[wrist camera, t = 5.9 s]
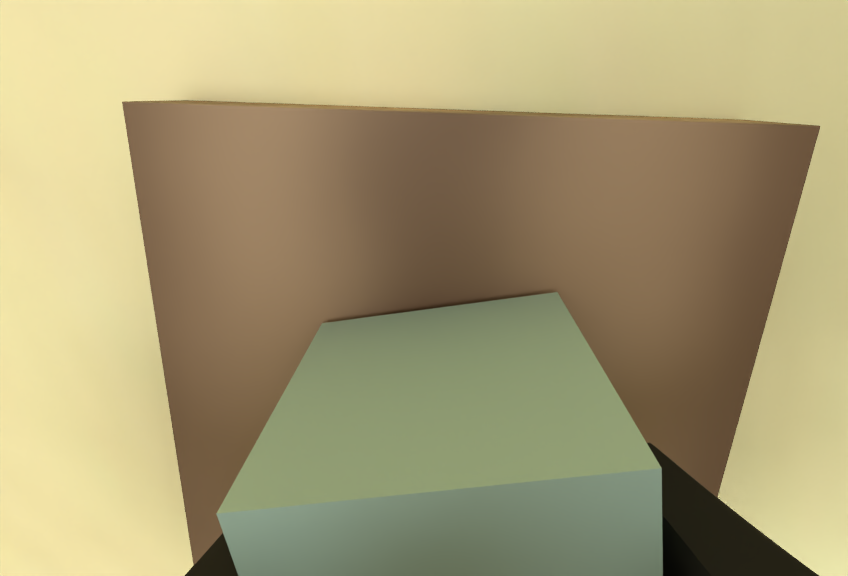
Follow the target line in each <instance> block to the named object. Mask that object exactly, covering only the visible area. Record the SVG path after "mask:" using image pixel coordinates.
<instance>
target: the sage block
mask: <svg viewBox="0 0 848 576" xmlns="http://www.w3.org/2000/svg"><path fill="white" fill-rule="evenodd" d="M216 514H217V517H218V520H219V523H220V525H221V528H222V531H223V534H224V537H225V540H226V542H227V545H228V548H229V551H230V554H231V556H232V559H233V562H234V565H235V568H236V571H237V573H238V576H663V541H662V468H661V466H660V465H659V463H658V461H657V460H656V458H655V456H654V454H653V453H652V451H651V449H650V448H649V446H648V444H647V443H646V441H645V439H644V438H643V436H642V434H641V433H640V431H639V429H638V427H637V426H636V424H635V422H634V421H633V419H632V417H631V416H630V414H629V412H628V411H627V409H626V407H625V405H624V404H623V402H622V400H621V399H620V397H619V395H618V394H617V392H616V390H615V389H614V387H613V385H612V384H611V382H610V380H609V378H608V377H607V375H606V373H605V372H604V370H603V368H602V367H601V365H600V363H599V362H598V360H597V358H596V356H595V355H594V353H593V351H592V350H591V348H590V346H589V345H588V343H587V341H586V340H585V338H584V336H583V335H582V333H581V331H580V329H579V328H578V326H577V324H576V323H575V321H574V319H573V318H572V316H571V314H570V313H569V311H568V309H567V308H566V306H565V304H564V302H563V301H562V299H561V297H560V296H559V294H558V292H553V293H546V294H538V295H531V296H523V297H516V298H508V299H501V300H493V301H486V302H478V303H471V304H463V305H455V306H448V307H440V308H433V309H425V310H418V311H410V312H403V313H395V314H388V315H380V316H373V317H365V318H357V319H350V320H342V321H335V322H327V323H322V324H321V326H320V328H319V330H318V331H317V333H316V335H315V337H314V339H313V340H312V342H311V344H310V346H309V348H308V349H307V351H306V353H305V355H304V357H303V358H302V360H301V362H300V364H299V366H298V367H297V369H296V371H295V373H294V375H293V376H292V378H291V380H290V382H289V384H288V385H287V387H286V389H285V391H284V393H283V394H282V396H281V398H280V400H279V402H278V403H277V405H276V407H275V409H274V411H273V412H272V414H271V416H270V418H269V420H268V422H267V423H266V425H265V427H264V429H263V431H262V432H261V434H260V436H259V438H258V440H257V441H256V443H255V445H254V447H253V449H252V450H251V452H250V454H249V456H248V458H247V459H246V461H245V463H244V465H243V467H242V468H241V470H240V472H239V474H238V476H237V477H236V479H235V481H234V483H233V485H232V486H231V488H230V490H229V492H228V494H227V495H226V497H225V499H224V501H223V503H222V504H221V506H220V508H219V510H218V512H217V513H216Z"/></svg>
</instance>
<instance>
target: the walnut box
mask: <svg viewBox="0 0 848 576" xmlns="http://www.w3.org/2000/svg"><path fill="white" fill-rule="evenodd" d="M122 103H123V110H124V116H125V123H126V129H127V136H128V142H129V149H130V155H131V162H132V168H133V175H134V181H135V188H136V194H137V201H138V207H139V214H140V220H141V226H142V233H143V239H144V246H145V252H146V259H147V265H148V272H149V278H150V285H151V291H152V298H153V304H154V311H155V317H156V324H157V330H158V337H159V343H160V350H161V356H162V363H163V369H164V376H165V382H166V389H167V395H168V401H169V408H170V414H171V421H172V427H173V434H174V440H175V447H176V453H177V460H178V466H179V473H180V479H181V486H182V492H183V499H184V505H185V512H186V518H187V525H188V531H189V538H190V544H191V551H192V557H193V563H194V565H195V564H196V563H197V561H198V560H199V559H200V558H201V557H202V556H203V555H204V554H205V552H206V551H207V550H208V549H209V548H210V547H211V546H212V545H213V543H214V542H215V541H216V540H217V539H218V538H219V537H220V535H221V534H222V533H223V531H222V528H221V525H220V523H219V520H218V517H217V514H216V513H217V512H218V510H219V508H220V506H221V504H222V503H223V501H224V499H225V497H226V495H227V494H228V492H229V490H230V488H231V486H232V485H233V483H234V481H235V479H236V477H237V476H238V474H239V472H240V470H241V468H242V467H243V465H244V463H245V461H246V459H247V458H248V456H249V454H250V452H251V450H252V449H253V447H254V445H255V443H256V441H257V440H258V438H259V436H260V434H261V432H262V431H263V429H264V427H265V425H266V423H267V422H268V420H269V418H270V416H271V414H272V412H273V411H274V409H275V407H276V405H277V403H278V402H279V400H280V398H281V396H282V394H283V393H284V391H285V389H286V387H287V385H288V384H289V382H290V380H291V378H292V376H293V375H294V373H295V371H296V369H297V367H298V366H299V364H300V362H301V360H302V358H303V357H304V355H305V353H306V351H307V349H308V348H309V346H310V344H311V342H312V340H313V339H314V337H315V335H316V333H317V331H318V330H319V328H320V326H321V324H322V323H327V322H335V321H342V320H350V319H357V318H365V317H373V316H380V315H388V314H395V313H403V312H410V311H418V310H425V309H433V308H440V307H448V306H455V305H463V304H471V303H478V302H486V301H493V300H501V299H508V298H516V297H523V296H531V295H538V294H546V293H553V292H558V294H559V296H560V297H561V299H562V301H563V302H564V304H565V306H566V308H567V309H568V311H569V313H570V314H571V316H572V318H573V319H574V321H575V323H576V324H577V326H578V328H579V329H580V331H581V333H582V335H583V336H584V338H585V340H586V341H587V343H588V345H589V346H590V348H591V350H592V351H593V353H594V355H595V356H596V358H597V360H598V362H599V363H600V365H601V367H602V368H603V370H604V372H605V373H606V375H607V377H608V378H609V380H610V382H611V384H612V385H613V387H614V389H615V390H616V392H617V394H618V395H619V397H620V399H621V400H622V402H623V404H624V405H625V407H626V409H627V411H628V412H629V414H630V416H631V417H632V419H633V421H634V422H635V424H636V426H637V427H638V429H639V431H640V433H641V434H642V436H643V438H644V439H645V441H646V443H651V444H653V445H654V446H655V447H656V448H658V449H659V450H660V451H661V452H663V453H664V454H665V455H666V456H667V457H669V458H670V459H671V460H672V461H673V462H675V463H676V464H677V465H678V466H679V467H681V468H682V469H683V470H684V471H686V472H687V473H688V474H689V475H690V476H692V477H693V478H694V479H695V480H696V481H698V482H699V483H700V484H701V485H702V486H704V487H705V488H706V489H707V490H709V491H710V492H711V493H712V494H713V495H715V496H716V497H717V496H718V492H719V489H720V485H721V482H722V478H723V474H724V471H725V467H726V464H727V460H728V456H729V453H730V449H731V446H732V442H733V439H734V435H735V431H736V428H737V424H738V421H739V417H740V413H741V410H742V406H743V403H744V399H745V395H746V392H747V388H748V385H749V381H750V377H751V374H752V370H753V367H754V363H755V359H756V356H757V352H758V349H759V345H760V341H761V338H762V334H763V331H764V327H765V323H766V320H767V316H768V313H769V309H770V305H771V302H772V298H773V295H774V291H775V287H776V284H777V280H778V277H779V273H780V269H781V266H782V262H783V259H784V255H785V251H786V248H787V244H788V241H789V237H790V233H791V230H792V226H793V223H794V219H795V215H796V212H797V208H798V205H799V201H800V197H801V194H802V190H803V187H804V183H805V179H806V176H807V172H808V169H809V165H810V161H811V158H812V154H813V151H814V147H815V143H816V140H817V136H818V133H819V129H820V126H814V125H801V124H788V123H776V122H763V121H750V120H735V119H706V118H677V117H648V116H620V115H591V114H562V113H534V112H505V111H476V110H447V109H419V108H390V107H361V106H332V105H304V104H275V103H246V102H217V101H189V100H183V101H134V102H122Z"/></svg>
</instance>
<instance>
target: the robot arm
mask: <svg viewBox="0 0 848 576" xmlns="http://www.w3.org/2000/svg"><path fill="white" fill-rule="evenodd" d="M647 444H648V446H649V448H650V449H651V451H652V453H653V454H654V456H655V458H656V460H657V461H658V463H659V465H660V466H661V468H662V541H663V576H819V575H817V574H816V573H815V572H813V571H812V570H810V569H809V568H808V567H806V566H805V565H804V564H802V563H801V562H800V561H798V560H797V559H796V558H794V557H793V556H792V555H790V554H789V553H788V552H786V551H785V550H784V549H782V548H781V547H780V546H778V545H777V544H776V543H775V542H773V541H772V540H771V539H769V538H768V537H767V536H765V535H764V534H763V533H762V532H760V531H759V530H758V529H756V528H755V527H754V526H752V525H751V524H750V523H748V522H747V521H746V520H745V519H743V518H742V517H741V516H740V515H738V514H737V513H736V512H735V511H733V510H732V509H731V508H730V507H728V506H727V505H726V504H725V503H723V502H722V501H721V500H720V499H718V498H717V497H716V496H715V495H713V494H712V493H711V492H710V491H709V490H707V489H706V488H705V487H704V486H702V485H701V484H700V483H699V482H698V481H696V480H695V479H694V478H693V477H692V476H690V475H689V474H688V473H687V472H686V471H684V470H683V469H682V468H681V467H679V466H678V465H677V464H676V463H675V462H673V461H672V460H671V459H670V458H669V457H667V456H666V455H665V454H664V453H663V452H661V451H660V450H659V449H658V448H656V447H655V446H654V445H653V444H651V443H647ZM185 576H238V573H237V571H236V568H235V565H234V562H233V559H232V556H231V554H230V551H229V548H228V545H227V542H226V540H225V537H224V534H223V533H222V534H221V535H220V537H219V538H218V539H217V540H216V541H215V542H214V543H213V545H212V546H211V547H210V548H209V549H208V550H207V551H206V552H205V554H204V555H203V556H202V557H201V558H200V559H199V560H198V561H197V563H196V564H195V565H194V566H193V567H192V568H191V569H190V570H189V571H188V573H187V574H186V575H185Z"/></svg>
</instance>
